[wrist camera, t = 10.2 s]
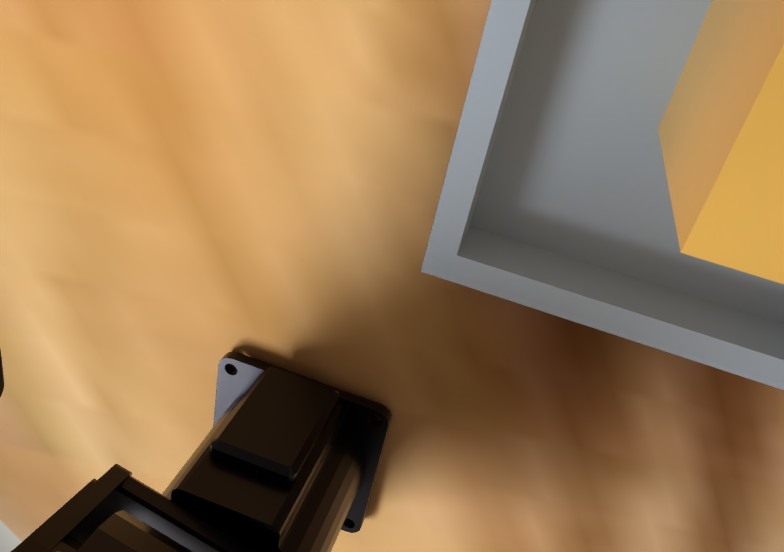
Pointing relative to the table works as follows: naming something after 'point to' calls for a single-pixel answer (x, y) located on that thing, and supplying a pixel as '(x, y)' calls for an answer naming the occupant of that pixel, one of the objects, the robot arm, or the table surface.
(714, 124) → the block
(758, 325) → the tray
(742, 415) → the table surface
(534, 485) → the table surface
